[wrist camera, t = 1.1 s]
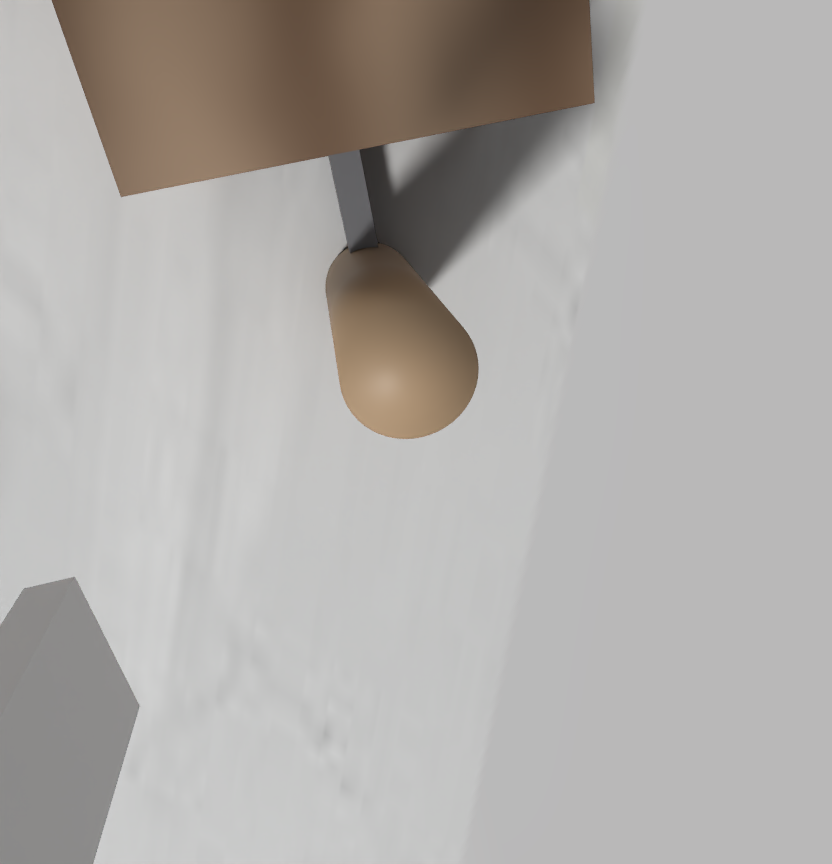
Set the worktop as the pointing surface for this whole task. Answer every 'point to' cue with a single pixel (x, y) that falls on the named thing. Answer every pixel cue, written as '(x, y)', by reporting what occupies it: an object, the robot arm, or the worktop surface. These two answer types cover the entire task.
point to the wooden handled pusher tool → (391, 328)
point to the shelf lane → (311, 76)
